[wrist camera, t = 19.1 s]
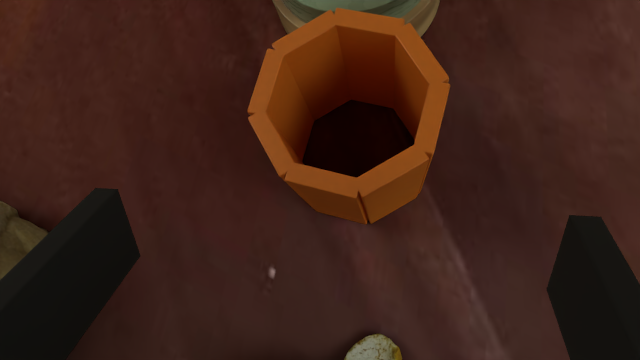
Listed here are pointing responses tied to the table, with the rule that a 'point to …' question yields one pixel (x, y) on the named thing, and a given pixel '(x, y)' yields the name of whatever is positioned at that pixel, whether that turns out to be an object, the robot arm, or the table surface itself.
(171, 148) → the table surface
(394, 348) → the fruit
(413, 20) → the stacking base
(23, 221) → the pastry
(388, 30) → the orange octagonal tube
